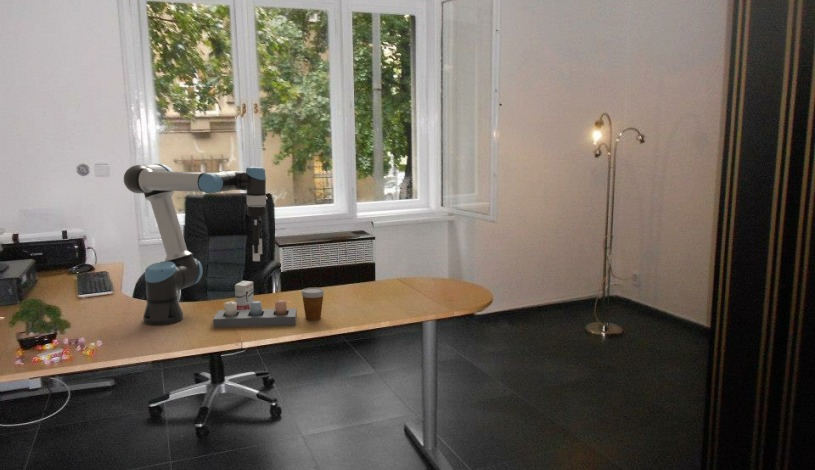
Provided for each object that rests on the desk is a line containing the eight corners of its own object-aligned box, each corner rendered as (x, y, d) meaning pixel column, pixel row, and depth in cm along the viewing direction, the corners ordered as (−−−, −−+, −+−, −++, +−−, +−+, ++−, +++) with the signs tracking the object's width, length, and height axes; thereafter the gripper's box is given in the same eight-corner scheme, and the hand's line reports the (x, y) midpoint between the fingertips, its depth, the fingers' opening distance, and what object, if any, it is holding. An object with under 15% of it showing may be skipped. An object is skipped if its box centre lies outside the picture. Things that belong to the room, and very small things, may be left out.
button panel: (213, 327, 234) (213, 319, 234) (218, 318, 246) (218, 310, 246) (295, 325, 239) (295, 316, 238) (296, 316, 251) (296, 308, 250)
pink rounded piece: (274, 315, 241) (274, 303, 240) (275, 312, 245) (275, 300, 244) (286, 315, 241) (286, 302, 241) (287, 311, 246) (286, 299, 245)
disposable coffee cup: (305, 322, 242) (305, 294, 240) (298, 316, 251) (298, 288, 249) (327, 319, 247) (327, 291, 245) (320, 313, 255) (319, 286, 253)
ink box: (245, 312, 255) (244, 285, 254) (235, 311, 256) (234, 285, 254) (254, 306, 264) (253, 280, 262) (244, 305, 265) (243, 280, 263)
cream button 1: (224, 316, 238) (223, 304, 237) (226, 313, 243) (225, 301, 242) (236, 316, 239) (235, 304, 238) (237, 313, 243) (237, 301, 242)
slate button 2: (249, 316, 239) (249, 303, 239) (251, 312, 244) (250, 300, 243) (261, 315, 240) (260, 303, 239) (262, 312, 245) (262, 300, 244)
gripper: (264, 209, 226) (265, 263, 229) (267, 202, 250) (268, 251, 253) (243, 209, 224) (245, 264, 228) (249, 202, 248) (250, 251, 252)
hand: (257, 257), depth 241 cm, fingers open, 13 cm apart
